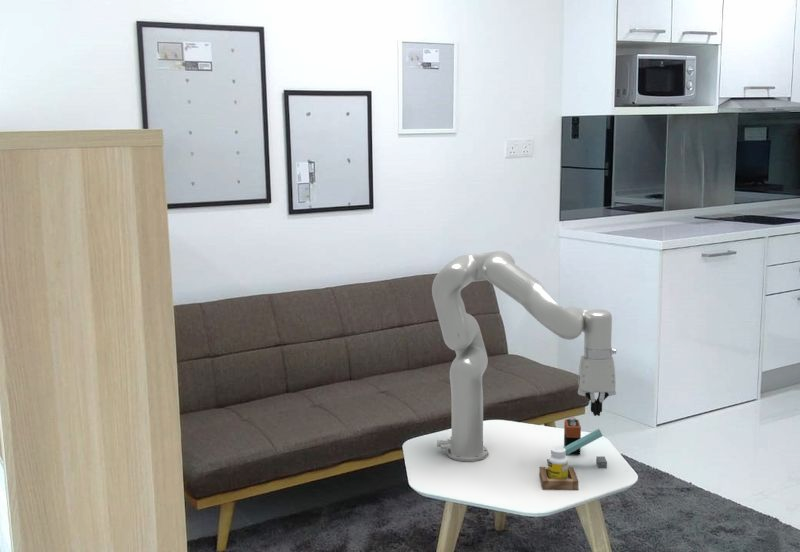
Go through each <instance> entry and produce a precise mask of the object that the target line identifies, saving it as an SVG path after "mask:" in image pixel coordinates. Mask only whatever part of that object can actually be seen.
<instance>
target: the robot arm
mask: <svg viewBox="0 0 800 552" xmlns="http://www.w3.org/2000/svg"><path fill="white" fill-rule="evenodd" d="M481 281H482V282H483V281H488V282H489V283H490V284H492V285H493V286H494V287H496V288H497V289H499V290H500V291H502V292H503V293H504V294H506V295H507V296H508V297H510V298H511V299H513V300H514V301H516V302H517V303H519V305H521V306H522V307H523V308H524V309H525V310H526V311H527V312H528V314H530V315H531V316H532V317H534V319H535V320H536V321H537V322H539V323H540V324H541V325H542V326H544V328H546V329H548V330H549V331H550V332H552V333H553V334H554V335H556V336H557V337H558V338H561V339H562V340H563V339H564V340H569V341H571V340H575V339H577V338H578V337H580V336H581V334H582V333H584V334H583V335H584V341H583V343H584V345H583V355H581V357H580V361H579V366H578V379H577V380H578V381H577V384H578V390H577V394H578V395H579V396H582V397H586V398H587V399H588V400H590V412H591V413H592V414H593V416H594V417H596V416H597V417H600V416H601V413H602V412H603V402H605V400H607V398H608V397H611V396H614V395H616V394H617V392H616V386H617V385H616V382H617V381H616V367H615V360H614V357H613V355H614V354H617V349H616V348H612V332H613V331H612V329H613V327H612V326H613V324H612V323H613V322H612V321H613V316H612V313H611V312H610V311H609V310H605V309H601V308H600V309H598V308H597V309H587V308H581V307H577V306H570V307H566V308H564V307H563V306H561V305H559V303H557V301H555V300H554V299H553V298H552V297H551V296H550V295H549V294H548V293H547V291H546V290H545V287H544V285H543V284H542V283H541V282H540V281H539V280H538V279H537V278H536V277H534V276H532V275H531V274H529V273H528V272H527V271H525V270H524V269H522V268H521V267H520V266H519V265H517V264H516V262H515V259H514V257H513V256H512V255H511V254H510V253H508V252H507V251H501V250H498V251H488V252H481V253H473V254H471V253H470V254H464V255H460V256H457V257H455V258H454V259H453V260H451V261H449V262H448V263H447V264H446V265H445V266H443V268H441V270H439V272H438V273H437V274H436V275H435V277H434V278H433V281H432V285H431V294H432V301H433V303H434V308H435V311H436V315H437V320H438V323H439V326H440V330H441V333H442V334H441V335H442V338H443V342H444V344H445V345H446V346H447V348H448V349H450V350H452V351H455V355H456V356H455V358H453V360H452V363H451V365H450V367H449V368H450V369H449V384H450V393H451V394H450V395H451V396H450V397H451V398H450V399H451V401H450V403H451V404H450V406H451V436H450V438H449V439H447V440H443V439H440V440H439V439H437V440H436V446H437V447H438V448H439V447H440V449H441V450H446V456H447V457H448V458H450V459H452V460H454V461H460V462H470V463H471V462H477V461H482V460H484V459H485V458H487V457H488V455H489V449H488V448H487V447H486V446H484V392H483V390H484V389H483V376H484V373H485V372H486V369H487V367H488V364H489V363H488V362H489V359H488V354H487V350H486V347H485V341H484V340H483V335H482V332H481V328H480V325H479V323H478V321H477V319H476V318H475V317H474V316H473V315H471V314H470V313H467V312H466V306H465V303H464V300H463V298H462V295H461V291H462V290H463V289H464V288H465V287H467V286H469V285H470V284H471V283H473V282H481ZM595 393H597V397H596V396H595Z"/></svg>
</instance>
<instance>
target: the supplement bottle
mask: <svg viewBox="0 0 800 552" xmlns="http://www.w3.org/2000/svg"><path fill="white" fill-rule="evenodd" d="M550 454H551V455H549V457H548V459H549V460H548V463H547V467H548V479H569V478H568V467H569V459H568V457H567V455H566V450H565V448H563V446H553V447H552V448H550ZM565 455H566V456H565Z"/></svg>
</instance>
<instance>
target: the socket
mask: <svg viewBox="0 0 800 552" xmlns="http://www.w3.org/2000/svg"><path fill="white" fill-rule="evenodd" d="M538 471H539V472H538V474H539V475H538V477H539V479H540V483H541V488H542V490H543V491H544V490H545V491H546V490H547V491H549V490H553V491H557V490H559V491H561V490H563V491H579V479H578V476H577V474H576V470H575V468H574V466H568V479H548V466H539V470H538Z"/></svg>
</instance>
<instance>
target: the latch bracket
mask: <svg viewBox="0 0 800 552" xmlns="http://www.w3.org/2000/svg"><path fill="white" fill-rule="evenodd" d="M595 458H596V459H595V461H596V462H595V463H596V466H597V469H607V468H608V461H607V459H606V456H598V455H597V456H596V457H595ZM548 460H549V458H547V459H546V462H547V464H548Z"/></svg>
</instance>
